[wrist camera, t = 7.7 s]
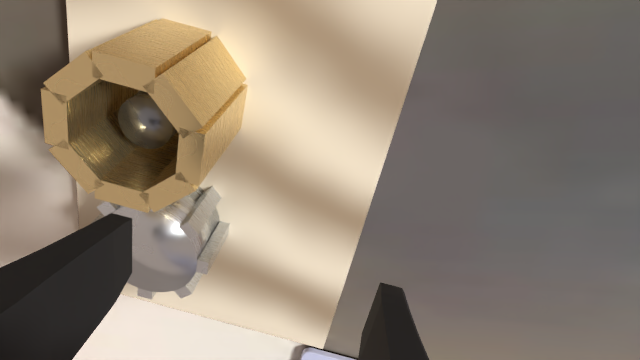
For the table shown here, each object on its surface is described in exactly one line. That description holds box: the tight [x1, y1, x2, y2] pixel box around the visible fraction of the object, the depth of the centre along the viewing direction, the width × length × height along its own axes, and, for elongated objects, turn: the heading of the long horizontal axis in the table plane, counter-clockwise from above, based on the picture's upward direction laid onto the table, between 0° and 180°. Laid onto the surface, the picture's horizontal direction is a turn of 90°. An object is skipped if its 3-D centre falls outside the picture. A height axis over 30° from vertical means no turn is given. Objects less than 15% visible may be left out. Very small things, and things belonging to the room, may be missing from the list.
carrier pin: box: [118, 91, 178, 149], centre depth 19 cm, size 2×2×4 cm
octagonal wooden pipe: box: [41, 18, 248, 213], centre depth 18 cm, size 6×6×5 cm
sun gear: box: [92, 186, 230, 300], centre depth 22 cm, size 6×6×3 cm
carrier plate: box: [66, 0, 437, 349], centre depth 22 cm, size 20×14×1 cm
